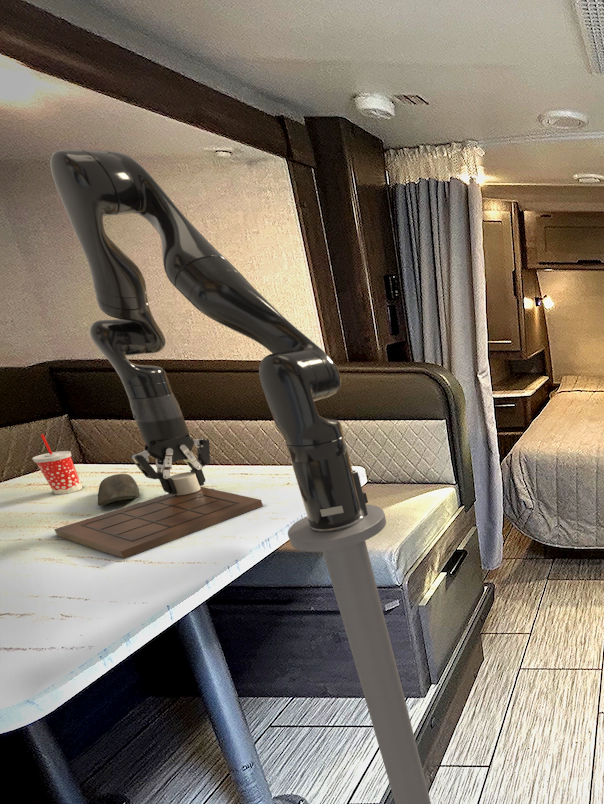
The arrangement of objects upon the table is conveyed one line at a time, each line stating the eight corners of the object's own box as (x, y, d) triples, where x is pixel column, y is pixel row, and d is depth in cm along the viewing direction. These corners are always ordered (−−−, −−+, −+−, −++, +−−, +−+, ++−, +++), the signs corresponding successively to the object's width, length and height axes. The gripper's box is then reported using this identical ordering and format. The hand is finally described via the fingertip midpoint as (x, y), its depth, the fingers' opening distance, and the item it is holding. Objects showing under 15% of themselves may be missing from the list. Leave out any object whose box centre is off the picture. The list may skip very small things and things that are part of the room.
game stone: (193, 486, 117) (187, 471, 115) (205, 488, 115) (200, 473, 114) (168, 493, 113) (162, 478, 111) (181, 496, 111) (175, 480, 110)
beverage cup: (58, 488, 122) (31, 432, 116) (91, 483, 124) (67, 429, 119) (43, 497, 116) (14, 439, 111) (78, 492, 119) (52, 435, 114)
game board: (197, 491, 118) (195, 484, 118) (263, 506, 109) (260, 499, 109) (57, 536, 98) (53, 528, 97) (124, 558, 89) (120, 550, 88)
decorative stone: (140, 504, 112) (132, 487, 110) (99, 513, 108) (91, 495, 106) (141, 483, 123) (134, 467, 122) (104, 490, 119) (97, 474, 118)
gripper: (126, 426, 100) (158, 503, 106) (207, 410, 112) (231, 480, 118) (106, 422, 103) (138, 498, 109) (187, 407, 115) (212, 476, 121)
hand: (186, 488), depth 114 cm, fingers closed on game stone, 4 cm apart
